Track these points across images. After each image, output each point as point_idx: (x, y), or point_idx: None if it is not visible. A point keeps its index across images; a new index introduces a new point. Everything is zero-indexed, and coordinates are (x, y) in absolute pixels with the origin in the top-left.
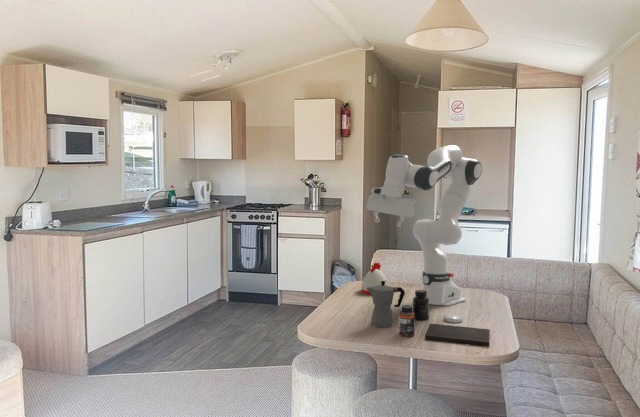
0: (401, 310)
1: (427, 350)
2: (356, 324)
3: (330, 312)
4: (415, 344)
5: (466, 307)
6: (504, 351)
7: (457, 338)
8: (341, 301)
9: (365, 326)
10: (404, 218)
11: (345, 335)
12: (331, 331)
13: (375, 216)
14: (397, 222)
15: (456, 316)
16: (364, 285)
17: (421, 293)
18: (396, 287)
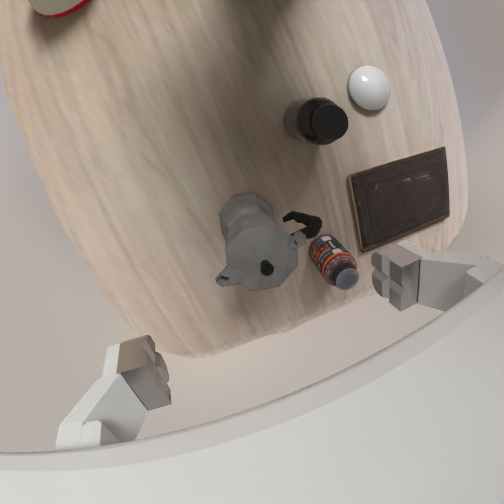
0: (332, 281)
1: (374, 289)
2: (200, 258)
3: (93, 224)
4: None
5: None
6: (459, 219)
7: (412, 231)
8: (47, 124)
9: (224, 257)
10: (492, 268)
11: (227, 321)
12: (191, 321)
13: (126, 432)
14: (405, 307)
15: (374, 77)
16: (41, 9)
17: (338, 138)
18: (302, 238)
